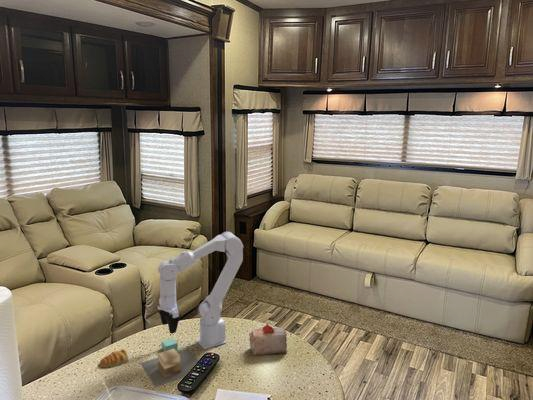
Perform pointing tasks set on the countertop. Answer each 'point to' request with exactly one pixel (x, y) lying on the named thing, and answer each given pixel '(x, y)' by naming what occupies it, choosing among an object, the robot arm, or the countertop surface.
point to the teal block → (169, 344)
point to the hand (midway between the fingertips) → (169, 328)
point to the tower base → (169, 370)
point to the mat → (186, 365)
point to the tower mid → (169, 358)
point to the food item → (268, 340)
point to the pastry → (115, 358)
